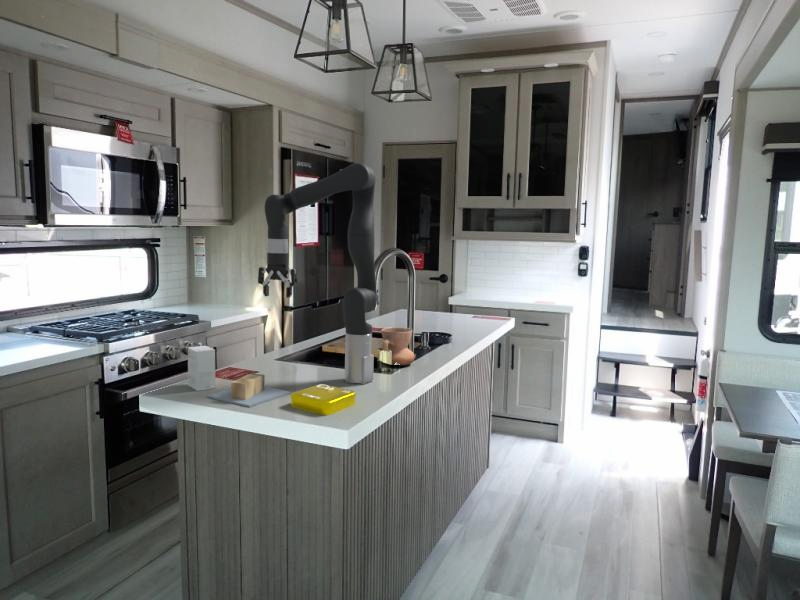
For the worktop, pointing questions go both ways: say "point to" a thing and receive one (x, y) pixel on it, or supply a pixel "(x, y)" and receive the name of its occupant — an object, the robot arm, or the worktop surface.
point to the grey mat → (252, 401)
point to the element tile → (323, 399)
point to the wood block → (247, 386)
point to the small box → (201, 368)
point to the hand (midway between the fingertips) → (277, 296)
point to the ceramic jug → (398, 344)
